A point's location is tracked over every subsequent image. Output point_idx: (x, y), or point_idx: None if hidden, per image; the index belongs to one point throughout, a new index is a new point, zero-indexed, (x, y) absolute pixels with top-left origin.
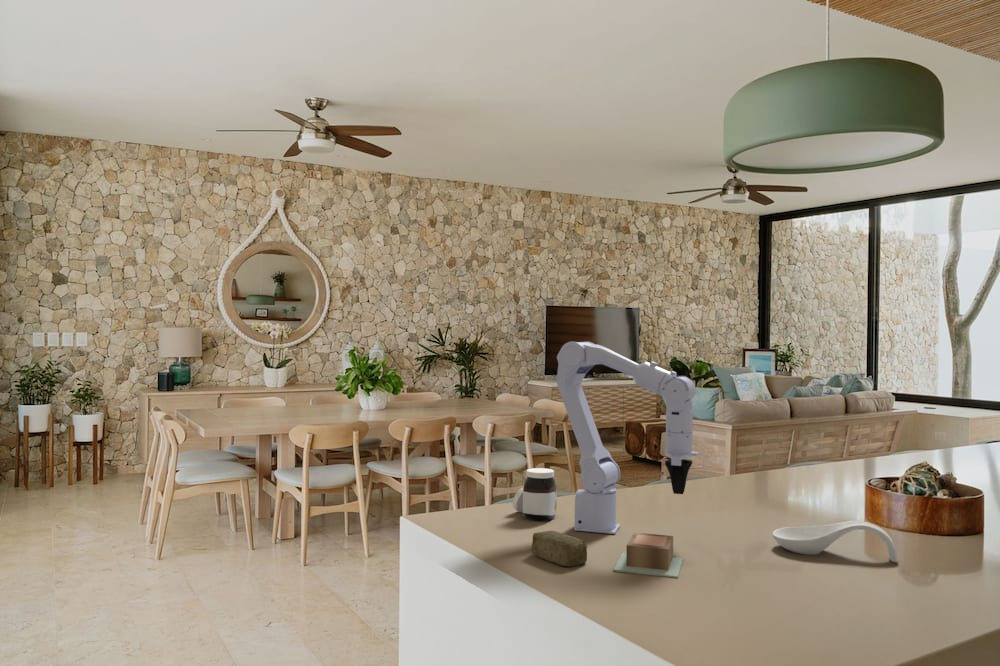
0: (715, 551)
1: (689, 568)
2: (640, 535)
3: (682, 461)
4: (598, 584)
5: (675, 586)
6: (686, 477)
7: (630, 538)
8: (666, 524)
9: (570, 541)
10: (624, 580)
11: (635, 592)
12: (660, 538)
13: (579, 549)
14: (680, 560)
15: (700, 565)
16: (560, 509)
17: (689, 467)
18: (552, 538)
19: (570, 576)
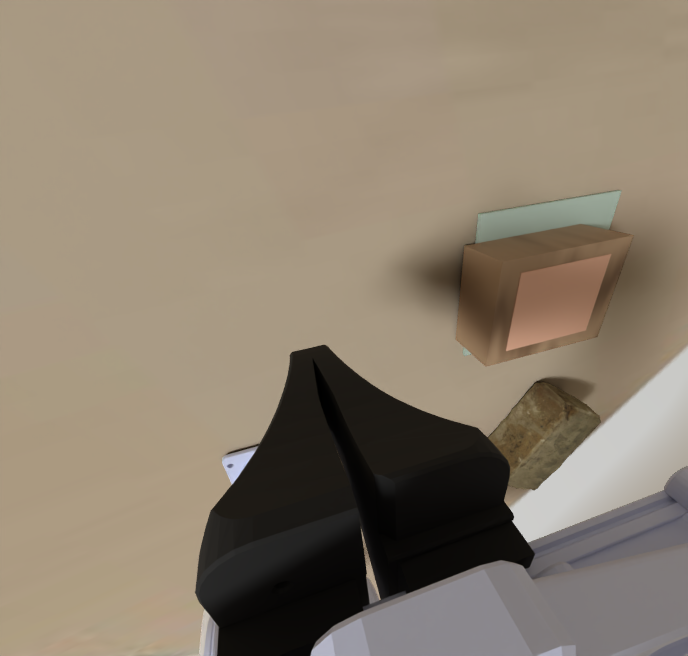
0: (357, 122)
1: (547, 177)
2: (514, 341)
3: (428, 559)
4: (639, 319)
5: (666, 182)
6: (355, 395)
7: (542, 351)
8: (81, 374)
9: (587, 426)
10: (623, 289)
11: (684, 249)
12: (537, 286)
13: (577, 403)
14: (503, 215)
15: (519, 150)
16: (150, 596)
17: (480, 431)
18: (568, 455)
19: (600, 369)
